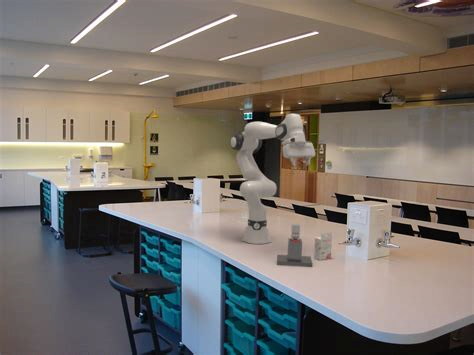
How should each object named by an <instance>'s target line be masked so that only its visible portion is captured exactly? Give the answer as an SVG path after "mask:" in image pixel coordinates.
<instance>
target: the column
mask: <svg viewBox="0 0 474 355" xmlns="http://www.w3.org/2000/svg"><path fill="white" fill-rule="evenodd" d="M300 228H301V224H298V223H297V224H294V223H292V224H291V235H290V236H291V241H293V240H298V241H299V239H300V231H301V229H300Z"/></svg>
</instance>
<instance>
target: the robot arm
mask: <svg viewBox="0 0 474 355" xmlns="http://www.w3.org/2000/svg"><path fill="white" fill-rule="evenodd" d="M305 134H306V130H305V128H304V125H303V120H302V115H300V114H299V113H296V112H292V113H288V114H286V115H285V118H284V119H283V121H282V122H280V123H279V124H277V125H276V124H271V123H269V122H265V121H264V122H263V121H250V122H249V123H247V124H246V125H245V126H244V131H243V132H242V131H238V132H237V133H236V134H233V135H232V136H231V138H230V141H229V145H230V148H232V150H234V151H238V152H237V153H236V155H235V156H236V157H235V158H236V162H237V166H238V168H239V170H240V173H241V175H242V177H243V178H244V179H245V180H246V181H244V182H242V183H241V184H240V187H239V192H240V195H241V196H242V197H243V198H244V200H245V201H246V202H247V206H248V219H247V226H246V227H245V228H244V229H245V230H244V237H243V238H241V241H242V242H246V243H248V244H252V245H253V244H254V245H263V244H271V243H272V239H271V238H270V232H269V228H268V227H267V226H268V224H267V223H268V222H267V221H268V220H267V207H266V206H265V204H263V203H262V201H261V199H262V198H270V197H273V196H274V195H276V193H277V189H278V188H277V184H276V183H275V182H274V181H273V180H271V179H269V178H268V177H266V176H265V174H264V173H262V171H261V170H260V168H259V167H258V164H257V163H256V161H255V158H254V156H253V154H256V153H258V151H259V150H260V149H261V147H262V145H263V140H267V139H273V138H276V139H278V140H280V141H282V142H281V144H282V155H283V157H284V158H285V159H289V160H290V162H291V163H292V166H293V167H295V166H297V161H295V159H300V158H301V159H303V158H304V159H305V158H306V162H305V165H306V166H310V165H311V159H312V158H314V157H316V150H315V147H314V145H313V144H314V143H312V142H311V141H310V140H307V141H306V136H305Z"/></svg>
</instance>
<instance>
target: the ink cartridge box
mask: <svg viewBox="0 0 474 355" xmlns="http://www.w3.org/2000/svg"><path fill="white" fill-rule="evenodd" d="M332 238H333V237H332V232H330V231H329V232H323V233H320V236H317V237H316V236H315V237H314V250H313V251H314V252H313V253H314V254H313V258H314V259H316V260H318V261H323V260H327V259H331V258H332V240H333V239H332Z"/></svg>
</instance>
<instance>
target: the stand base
mask: <svg viewBox="0 0 474 355" xmlns="http://www.w3.org/2000/svg"><path fill="white" fill-rule="evenodd" d="M287 239H288V240H287V254H277V255H276V256H277V257H276V260H277V261H276V265H277V266H287V267H288V266H289V267H290V266H291V267H308V268H312V267H313V260H312V257H311V256H307V255H302V253H303V252H302V251H303V240H302V238H299V241H298V240H293V241H291V238H290V237H289V238H287Z"/></svg>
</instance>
